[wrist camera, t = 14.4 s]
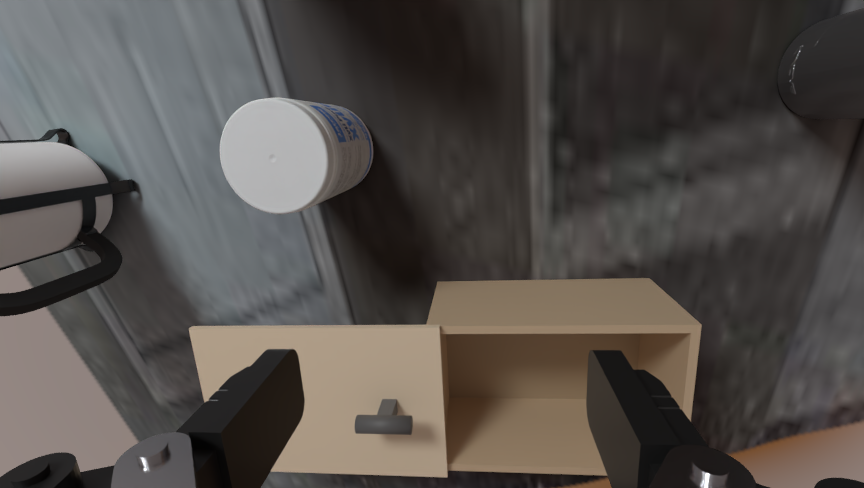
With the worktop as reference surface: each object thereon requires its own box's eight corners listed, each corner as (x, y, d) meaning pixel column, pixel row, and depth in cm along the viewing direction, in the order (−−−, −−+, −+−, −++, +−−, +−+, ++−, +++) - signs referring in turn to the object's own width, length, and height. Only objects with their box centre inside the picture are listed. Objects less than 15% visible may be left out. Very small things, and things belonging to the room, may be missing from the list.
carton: (649, 278, 49) (701, 324, 38) (639, 401, 53) (684, 478, 42) (437, 281, 52) (425, 326, 40) (443, 399, 56) (435, 470, 44)
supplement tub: (384, 119, 48) (345, 117, 33) (363, 201, 50) (318, 231, 36) (300, 93, 48) (226, 80, 34) (284, 176, 50) (208, 196, 36)
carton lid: (439, 324, 40) (435, 347, 36) (447, 472, 44) (444, 507, 40) (192, 326, 43) (162, 346, 39) (222, 465, 47) (198, 497, 43)
